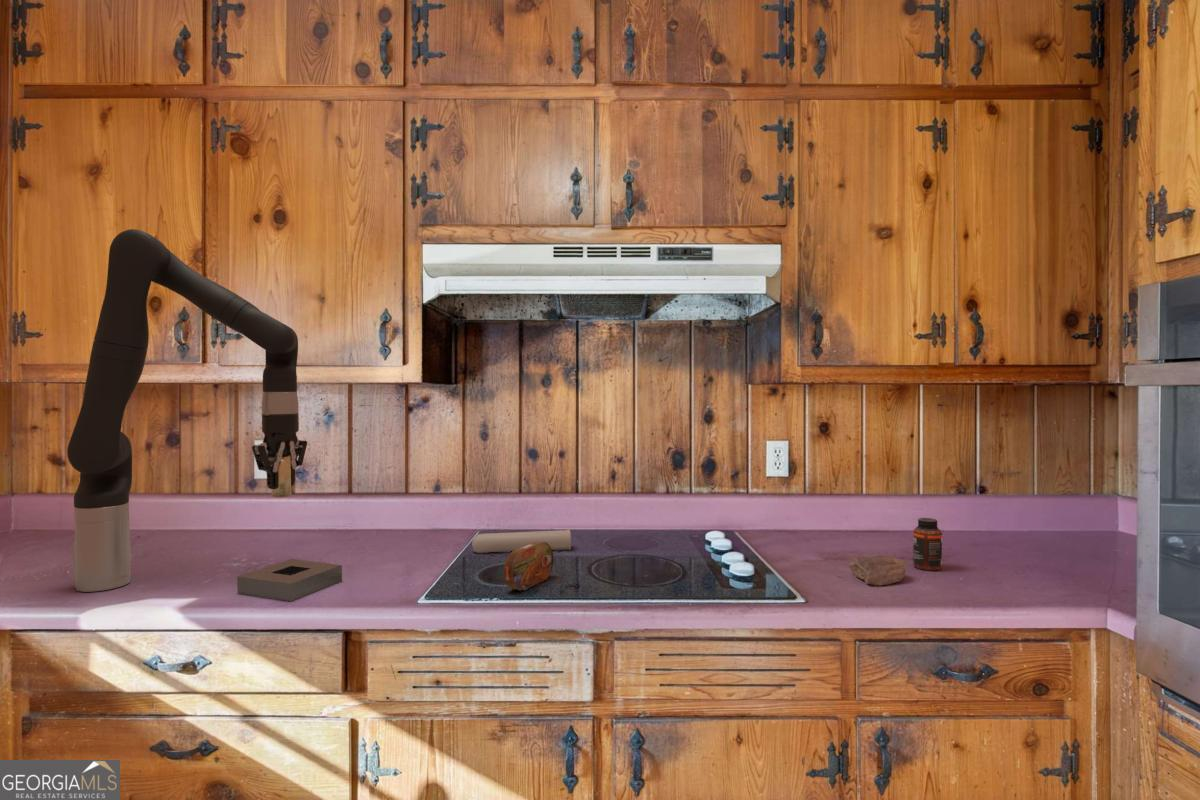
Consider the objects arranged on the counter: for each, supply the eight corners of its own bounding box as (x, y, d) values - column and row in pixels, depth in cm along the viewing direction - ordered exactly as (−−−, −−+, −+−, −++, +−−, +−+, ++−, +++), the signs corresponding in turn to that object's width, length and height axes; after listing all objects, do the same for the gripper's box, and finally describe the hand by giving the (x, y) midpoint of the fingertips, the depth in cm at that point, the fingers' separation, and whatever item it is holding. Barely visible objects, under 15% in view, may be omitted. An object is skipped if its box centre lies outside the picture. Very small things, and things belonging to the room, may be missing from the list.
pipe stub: (267, 496, 147) (267, 457, 147) (281, 493, 151) (281, 455, 150) (281, 497, 146) (280, 457, 145) (295, 495, 149) (294, 455, 149)
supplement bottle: (947, 569, 149) (948, 520, 149) (932, 573, 146) (932, 523, 146) (922, 563, 155) (923, 515, 154) (907, 566, 152) (908, 518, 151)
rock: (869, 588, 136) (869, 565, 136) (840, 574, 146) (841, 553, 146) (917, 584, 139) (917, 562, 139) (886, 570, 149) (886, 550, 148)
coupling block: (237, 593, 132) (237, 576, 132) (291, 574, 145) (291, 558, 145) (290, 601, 127) (290, 583, 127) (341, 581, 141) (341, 565, 140)
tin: (513, 596, 131) (513, 554, 131) (501, 593, 133) (501, 552, 132) (554, 576, 144) (554, 538, 144) (543, 574, 146) (542, 537, 145)
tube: (470, 540, 161) (571, 536, 165) (471, 529, 166) (569, 525, 170) (471, 559, 163) (570, 554, 166) (472, 547, 168) (568, 543, 171)
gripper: (292, 410, 156) (292, 481, 156) (241, 413, 142) (242, 491, 143) (316, 410, 153) (317, 483, 153) (267, 413, 140) (268, 493, 140)
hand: (281, 486), depth 148 cm, fingers closed on pipe stub, 4 cm apart
